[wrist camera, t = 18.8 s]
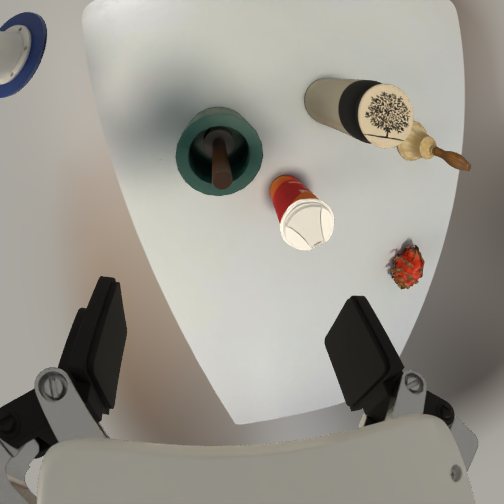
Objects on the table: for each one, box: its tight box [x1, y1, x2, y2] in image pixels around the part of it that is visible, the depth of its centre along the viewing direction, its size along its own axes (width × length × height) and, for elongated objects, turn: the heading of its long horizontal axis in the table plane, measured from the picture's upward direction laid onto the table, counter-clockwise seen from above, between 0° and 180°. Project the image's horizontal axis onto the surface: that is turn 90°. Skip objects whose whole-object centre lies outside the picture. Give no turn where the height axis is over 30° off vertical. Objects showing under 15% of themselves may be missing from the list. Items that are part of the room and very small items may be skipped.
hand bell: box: [397, 121, 471, 171], centre depth 37 cm, size 8×8×16 cm
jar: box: [176, 107, 263, 196], centre depth 35 cm, size 10×10×12 cm
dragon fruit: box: [390, 245, 425, 289], centre depth 58 cm, size 8×8×12 cm
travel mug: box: [305, 79, 413, 148], centre depth 31 cm, size 8×8×18 cm
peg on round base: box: [203, 126, 234, 190], centre depth 31 cm, size 4×4×20 cm
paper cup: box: [270, 175, 334, 250], centre depth 41 cm, size 8×8×14 cm
